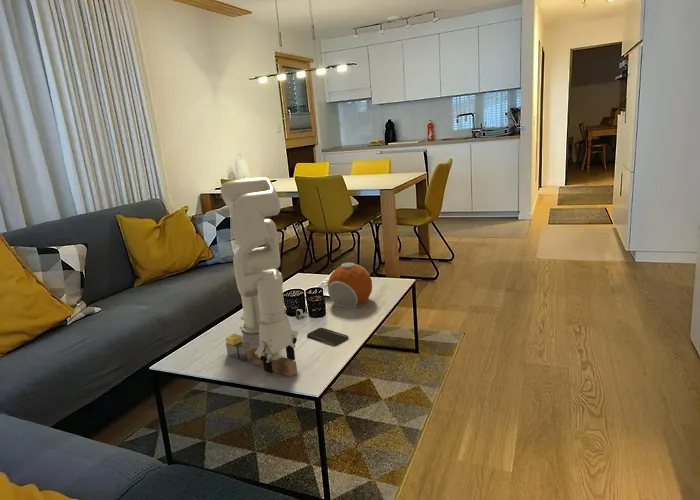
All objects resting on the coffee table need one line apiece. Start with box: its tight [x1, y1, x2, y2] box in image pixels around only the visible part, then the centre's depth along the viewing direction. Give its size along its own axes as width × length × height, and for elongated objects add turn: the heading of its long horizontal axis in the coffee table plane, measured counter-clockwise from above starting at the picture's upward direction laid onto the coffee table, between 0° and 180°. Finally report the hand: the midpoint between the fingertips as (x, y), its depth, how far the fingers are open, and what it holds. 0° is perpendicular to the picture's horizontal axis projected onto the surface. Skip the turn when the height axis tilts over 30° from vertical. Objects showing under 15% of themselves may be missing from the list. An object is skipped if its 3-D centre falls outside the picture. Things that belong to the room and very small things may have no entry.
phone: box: [306, 327, 350, 347], centre depth 172 cm, size 8×1×15 cm
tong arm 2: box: [250, 346, 298, 375], centre depth 153 cm, size 20×2×4 cm, turn 51°
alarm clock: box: [327, 262, 373, 308], centre depth 202 cm, size 19×18×17 cm
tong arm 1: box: [246, 349, 295, 378], centre depth 152 cm, size 20×2×4 cm, turn 51°
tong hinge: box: [225, 341, 253, 362], centre depth 162 cm, size 10×4×5 cm, turn 52°
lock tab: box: [225, 333, 243, 345], centre depth 163 cm, size 4×4×2 cm
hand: (280, 365), depth 150 cm, fingers open, 9 cm apart
